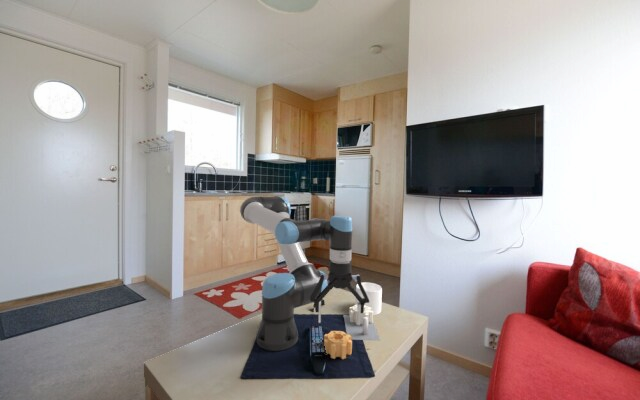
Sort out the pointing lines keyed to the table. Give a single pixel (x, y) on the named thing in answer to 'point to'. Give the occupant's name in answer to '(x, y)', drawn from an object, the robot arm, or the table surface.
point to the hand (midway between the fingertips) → (339, 321)
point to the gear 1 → (338, 344)
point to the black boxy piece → (314, 305)
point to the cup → (371, 296)
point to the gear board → (361, 329)
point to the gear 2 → (366, 313)
